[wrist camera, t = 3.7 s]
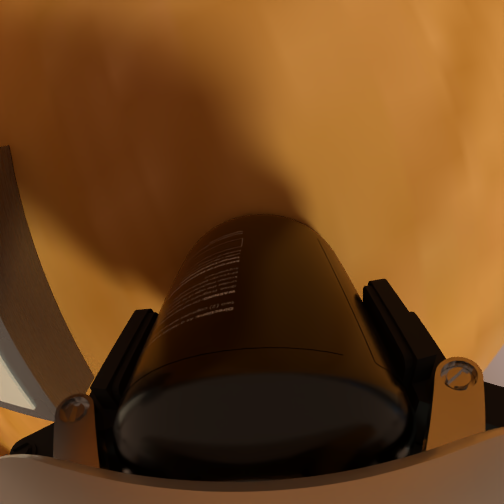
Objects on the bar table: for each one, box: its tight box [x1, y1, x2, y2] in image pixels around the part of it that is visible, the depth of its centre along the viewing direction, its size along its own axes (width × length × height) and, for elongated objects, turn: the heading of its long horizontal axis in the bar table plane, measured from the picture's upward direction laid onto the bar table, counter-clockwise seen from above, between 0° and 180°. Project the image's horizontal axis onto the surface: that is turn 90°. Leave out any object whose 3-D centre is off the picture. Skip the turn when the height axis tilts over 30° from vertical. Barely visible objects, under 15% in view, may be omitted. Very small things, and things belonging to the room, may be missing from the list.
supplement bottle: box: [112, 214, 417, 482], centre depth 8 cm, size 7×7×12 cm
